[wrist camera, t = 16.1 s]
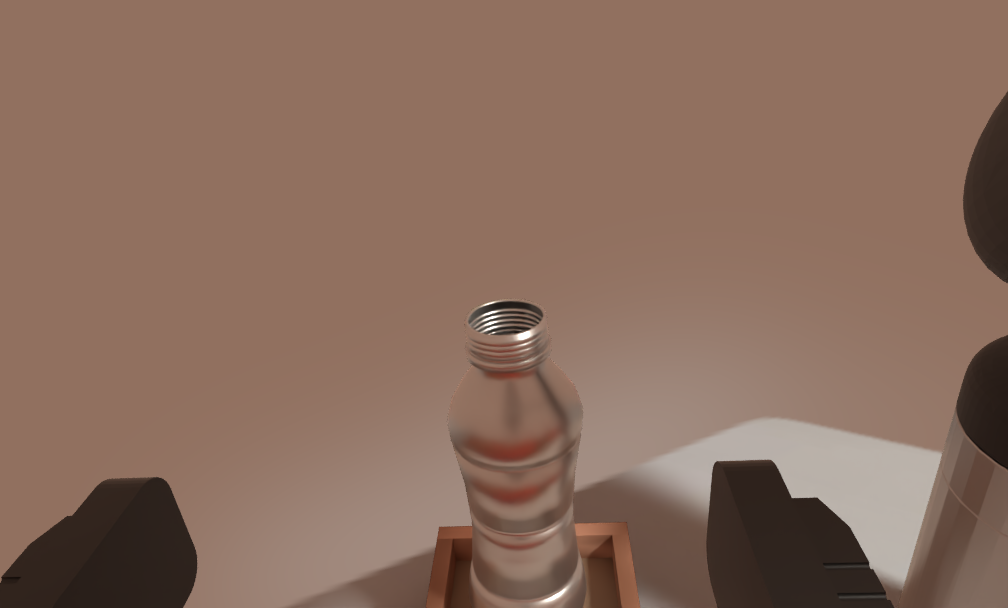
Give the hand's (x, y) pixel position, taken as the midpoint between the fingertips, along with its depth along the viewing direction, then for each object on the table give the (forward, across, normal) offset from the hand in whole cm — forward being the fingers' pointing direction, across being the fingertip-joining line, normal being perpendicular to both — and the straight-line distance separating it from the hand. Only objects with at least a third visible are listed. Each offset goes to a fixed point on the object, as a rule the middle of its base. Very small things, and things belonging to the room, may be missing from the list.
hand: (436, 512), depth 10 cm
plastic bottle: (+19, 0, +27) cm, 33 cm away
